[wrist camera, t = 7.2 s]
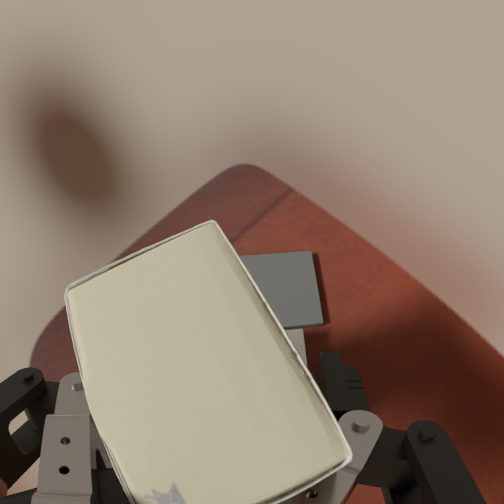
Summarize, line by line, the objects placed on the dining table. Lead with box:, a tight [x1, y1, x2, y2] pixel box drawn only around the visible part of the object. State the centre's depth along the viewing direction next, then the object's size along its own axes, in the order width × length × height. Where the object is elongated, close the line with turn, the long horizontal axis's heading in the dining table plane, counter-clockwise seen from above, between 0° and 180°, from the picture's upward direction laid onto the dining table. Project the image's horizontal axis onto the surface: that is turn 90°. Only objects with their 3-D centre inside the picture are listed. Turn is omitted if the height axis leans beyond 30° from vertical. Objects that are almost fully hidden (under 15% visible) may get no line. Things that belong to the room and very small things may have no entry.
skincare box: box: [64, 220, 353, 504], centre depth 10 cm, size 6×4×12 cm
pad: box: [239, 251, 323, 329], centre depth 23 cm, size 6×6×1 cm
